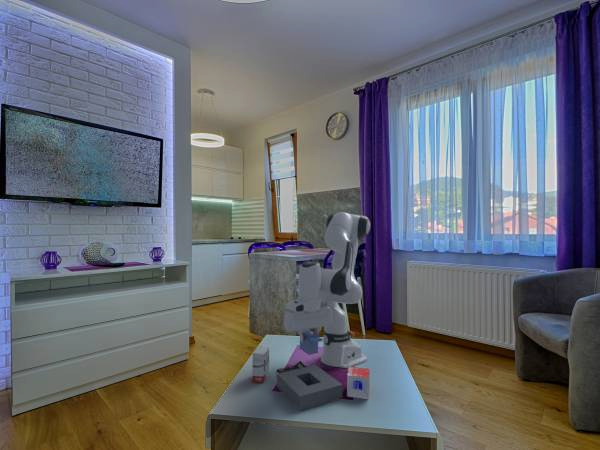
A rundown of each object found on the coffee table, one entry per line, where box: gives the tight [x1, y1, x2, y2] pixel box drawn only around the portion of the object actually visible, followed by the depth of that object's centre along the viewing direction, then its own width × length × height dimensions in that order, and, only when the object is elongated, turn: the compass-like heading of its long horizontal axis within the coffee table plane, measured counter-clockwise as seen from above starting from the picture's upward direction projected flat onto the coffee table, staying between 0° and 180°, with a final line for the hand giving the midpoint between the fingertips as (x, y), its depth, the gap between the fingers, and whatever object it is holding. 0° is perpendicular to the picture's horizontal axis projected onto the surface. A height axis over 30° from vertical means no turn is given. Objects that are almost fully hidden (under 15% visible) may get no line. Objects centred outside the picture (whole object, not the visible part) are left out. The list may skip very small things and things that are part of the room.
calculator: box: [276, 360, 307, 374], centre depth 135 cm, size 9×12×3 cm
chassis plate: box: [276, 364, 343, 412], centre depth 120 cm, size 18×19×5 cm
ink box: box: [251, 345, 270, 384], centre depth 131 cm, size 9×5×12 cm, turn 168°
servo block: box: [295, 329, 323, 355], centre depth 120 cm, size 4×13×8 cm, turn 29°
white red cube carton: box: [346, 366, 370, 400], centre depth 120 cm, size 8×8×8 cm
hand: (308, 339), depth 120 cm, fingers closed on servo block, 4 cm apart
